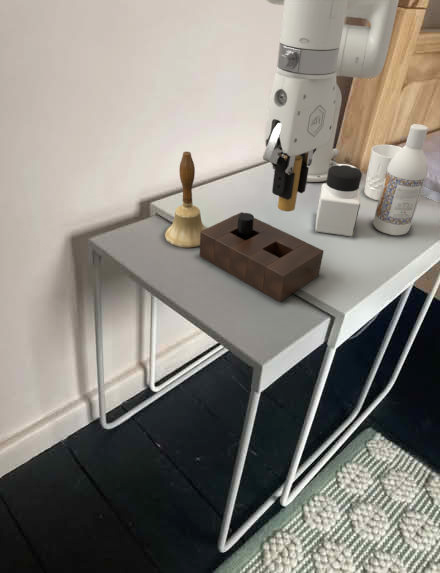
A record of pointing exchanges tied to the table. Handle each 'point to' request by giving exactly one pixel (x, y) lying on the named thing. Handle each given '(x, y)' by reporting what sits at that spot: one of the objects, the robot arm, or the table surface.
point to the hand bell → (186, 211)
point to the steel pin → (245, 226)
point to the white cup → (378, 168)
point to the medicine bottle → (339, 201)
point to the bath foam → (402, 185)
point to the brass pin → (290, 204)
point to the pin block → (262, 257)
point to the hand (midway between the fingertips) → (288, 191)
